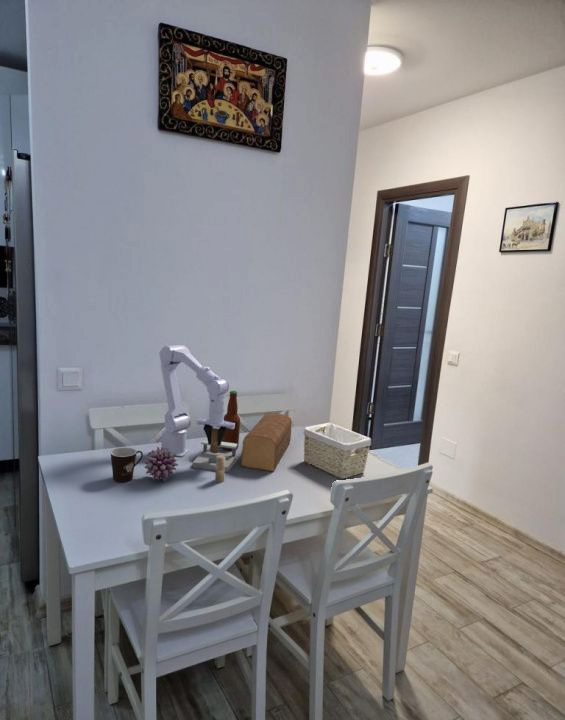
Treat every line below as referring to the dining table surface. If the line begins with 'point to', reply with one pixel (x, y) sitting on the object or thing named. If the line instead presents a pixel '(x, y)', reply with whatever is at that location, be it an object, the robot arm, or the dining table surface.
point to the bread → (267, 442)
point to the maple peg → (220, 468)
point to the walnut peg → (214, 441)
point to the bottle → (232, 421)
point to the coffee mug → (123, 463)
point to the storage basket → (336, 449)
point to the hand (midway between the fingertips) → (214, 444)
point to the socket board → (209, 459)
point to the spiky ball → (160, 463)
